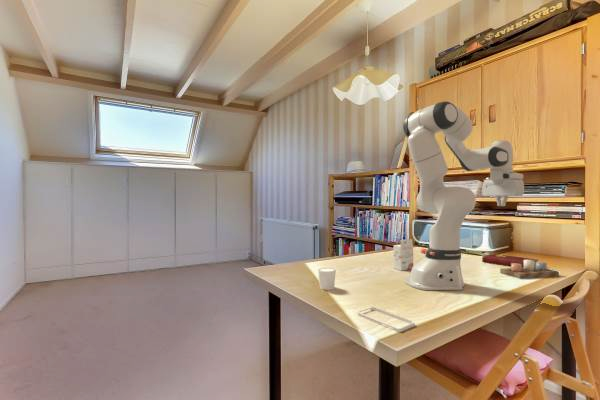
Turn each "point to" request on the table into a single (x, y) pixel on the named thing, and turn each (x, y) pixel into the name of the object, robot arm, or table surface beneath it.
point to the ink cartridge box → (403, 255)
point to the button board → (529, 273)
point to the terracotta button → (516, 267)
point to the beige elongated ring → (388, 315)
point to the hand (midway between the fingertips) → (501, 206)
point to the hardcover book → (505, 259)
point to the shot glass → (327, 278)
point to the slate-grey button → (541, 266)
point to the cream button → (528, 265)
